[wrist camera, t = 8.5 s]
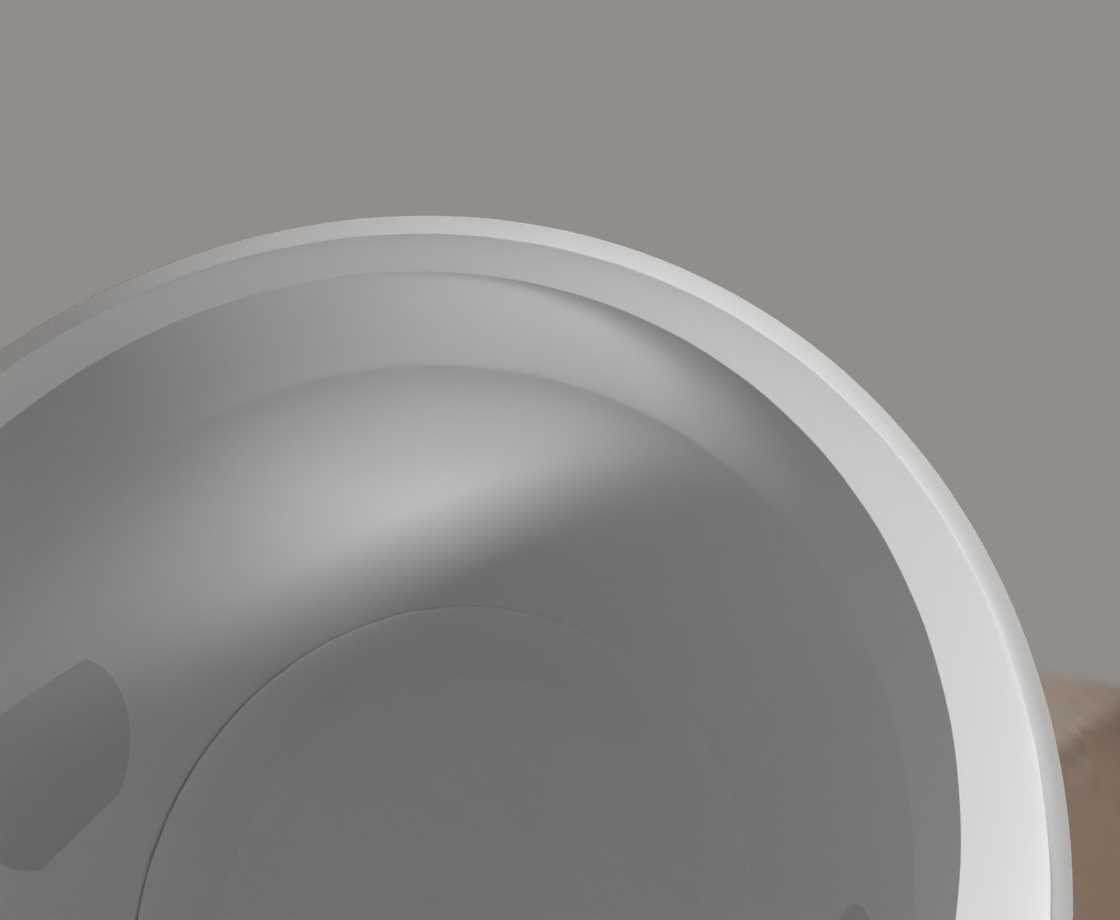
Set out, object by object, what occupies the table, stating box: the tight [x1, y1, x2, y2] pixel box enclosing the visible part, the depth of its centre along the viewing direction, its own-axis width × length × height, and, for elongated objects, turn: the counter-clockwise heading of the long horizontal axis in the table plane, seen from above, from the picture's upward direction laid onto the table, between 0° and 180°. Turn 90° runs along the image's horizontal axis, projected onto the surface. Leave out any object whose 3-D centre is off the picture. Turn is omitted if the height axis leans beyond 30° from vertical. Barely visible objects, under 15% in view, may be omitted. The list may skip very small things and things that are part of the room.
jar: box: [0, 216, 1073, 920], centre depth 14 cm, size 11×10×15 cm
